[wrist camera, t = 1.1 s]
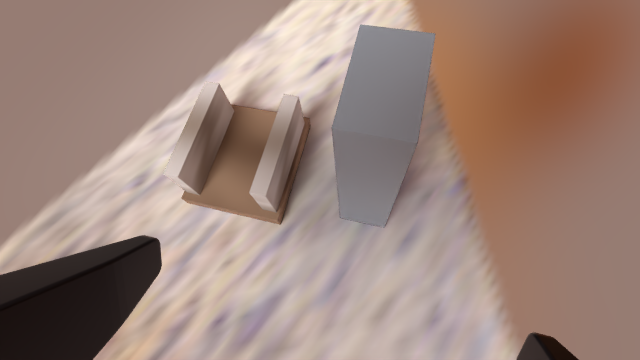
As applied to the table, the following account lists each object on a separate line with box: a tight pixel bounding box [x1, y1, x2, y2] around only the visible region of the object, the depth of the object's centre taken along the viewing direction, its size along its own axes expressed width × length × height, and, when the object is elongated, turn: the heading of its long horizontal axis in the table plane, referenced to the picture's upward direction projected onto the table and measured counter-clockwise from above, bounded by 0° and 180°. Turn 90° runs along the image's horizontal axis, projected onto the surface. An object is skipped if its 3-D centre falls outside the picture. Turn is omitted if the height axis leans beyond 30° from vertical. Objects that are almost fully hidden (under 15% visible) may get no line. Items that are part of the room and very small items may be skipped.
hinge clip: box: [163, 81, 310, 224], centre depth 22 cm, size 8×7×4 cm
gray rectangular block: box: [332, 25, 435, 228], centre depth 18 cm, size 6×3×12 cm, turn 166°
